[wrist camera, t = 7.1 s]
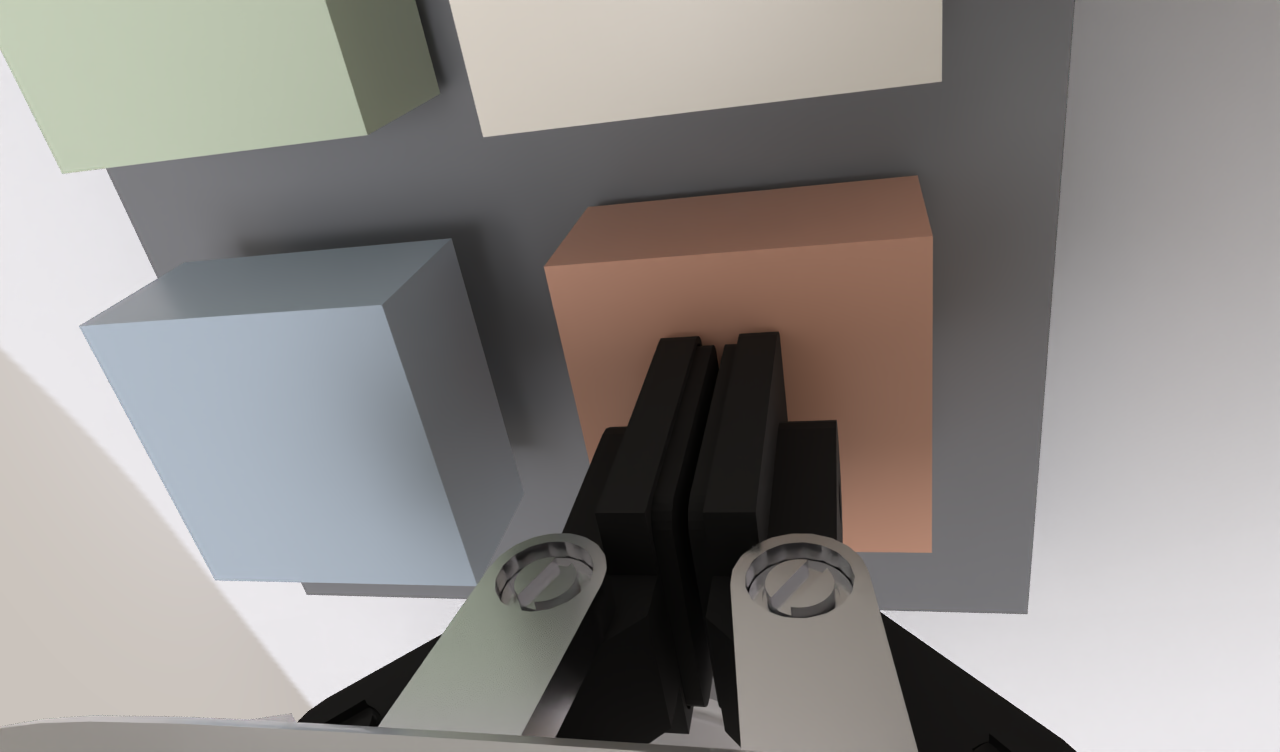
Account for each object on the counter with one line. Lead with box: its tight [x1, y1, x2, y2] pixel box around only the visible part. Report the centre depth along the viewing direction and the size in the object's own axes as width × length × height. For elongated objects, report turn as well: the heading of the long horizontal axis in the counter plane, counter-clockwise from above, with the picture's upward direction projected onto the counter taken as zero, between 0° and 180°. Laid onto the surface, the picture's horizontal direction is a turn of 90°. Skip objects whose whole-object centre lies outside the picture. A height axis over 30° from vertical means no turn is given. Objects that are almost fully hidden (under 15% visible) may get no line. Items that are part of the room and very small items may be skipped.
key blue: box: [79, 238, 524, 586], centre depth 14 cm, size 5×5×2 cm
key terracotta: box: [544, 175, 933, 553], centre depth 13 cm, size 5×5×2 cm
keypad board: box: [106, 0, 1075, 614], centre depth 14 cm, size 16×20×2 cm
